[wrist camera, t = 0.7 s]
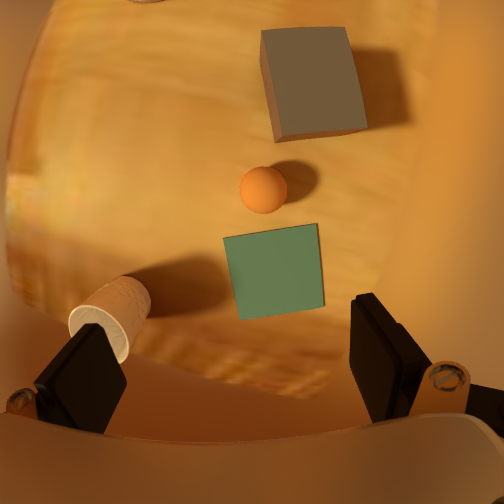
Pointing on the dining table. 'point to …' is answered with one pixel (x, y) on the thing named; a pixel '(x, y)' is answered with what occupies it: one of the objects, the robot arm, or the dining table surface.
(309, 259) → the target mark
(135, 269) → the dining table surface
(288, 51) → the grey rectangular box
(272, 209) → the ball
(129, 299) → the white cup
